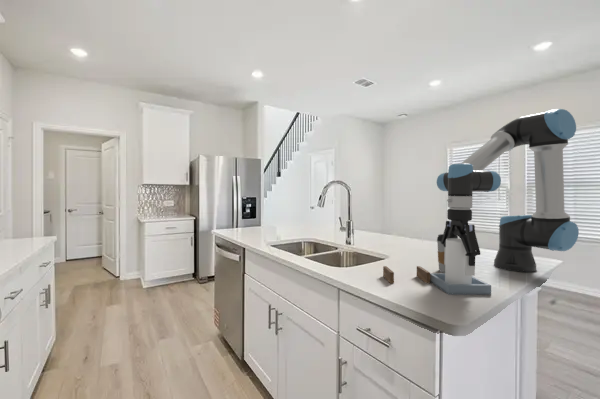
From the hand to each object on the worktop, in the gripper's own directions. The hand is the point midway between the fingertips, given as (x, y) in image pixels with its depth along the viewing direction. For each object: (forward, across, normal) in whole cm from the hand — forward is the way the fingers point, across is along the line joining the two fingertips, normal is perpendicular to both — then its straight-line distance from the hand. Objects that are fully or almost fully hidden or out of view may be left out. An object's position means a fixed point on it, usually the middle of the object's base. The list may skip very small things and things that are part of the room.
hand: (458, 269), depth 103 cm
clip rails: (+6, -9, -15) cm, 19 cm away
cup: (+6, 0, 0) cm, 6 cm away
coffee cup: (+6, -21, +7) cm, 23 cm away
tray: (+6, 0, 0) cm, 6 cm away
